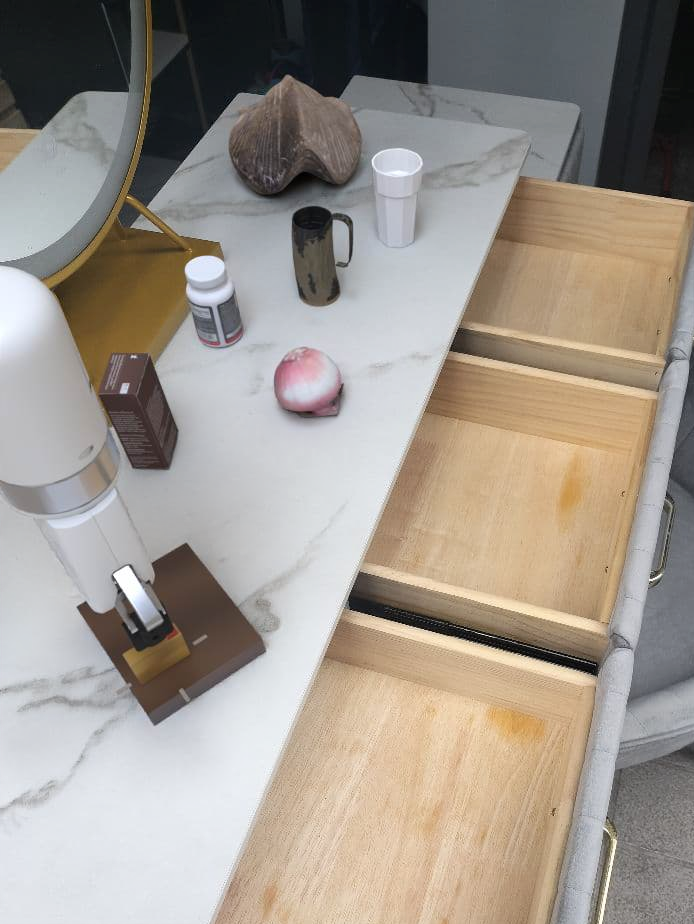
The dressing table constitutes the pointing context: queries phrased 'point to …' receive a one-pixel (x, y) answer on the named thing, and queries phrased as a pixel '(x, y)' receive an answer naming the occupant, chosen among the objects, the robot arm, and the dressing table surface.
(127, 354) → the box
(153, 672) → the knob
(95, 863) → the dressing table surface
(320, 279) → the mug
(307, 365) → the onion
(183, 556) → the panel
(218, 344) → the pill bottle
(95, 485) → the robot arm
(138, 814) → the dressing table surface
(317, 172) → the seashell
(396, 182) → the cup
